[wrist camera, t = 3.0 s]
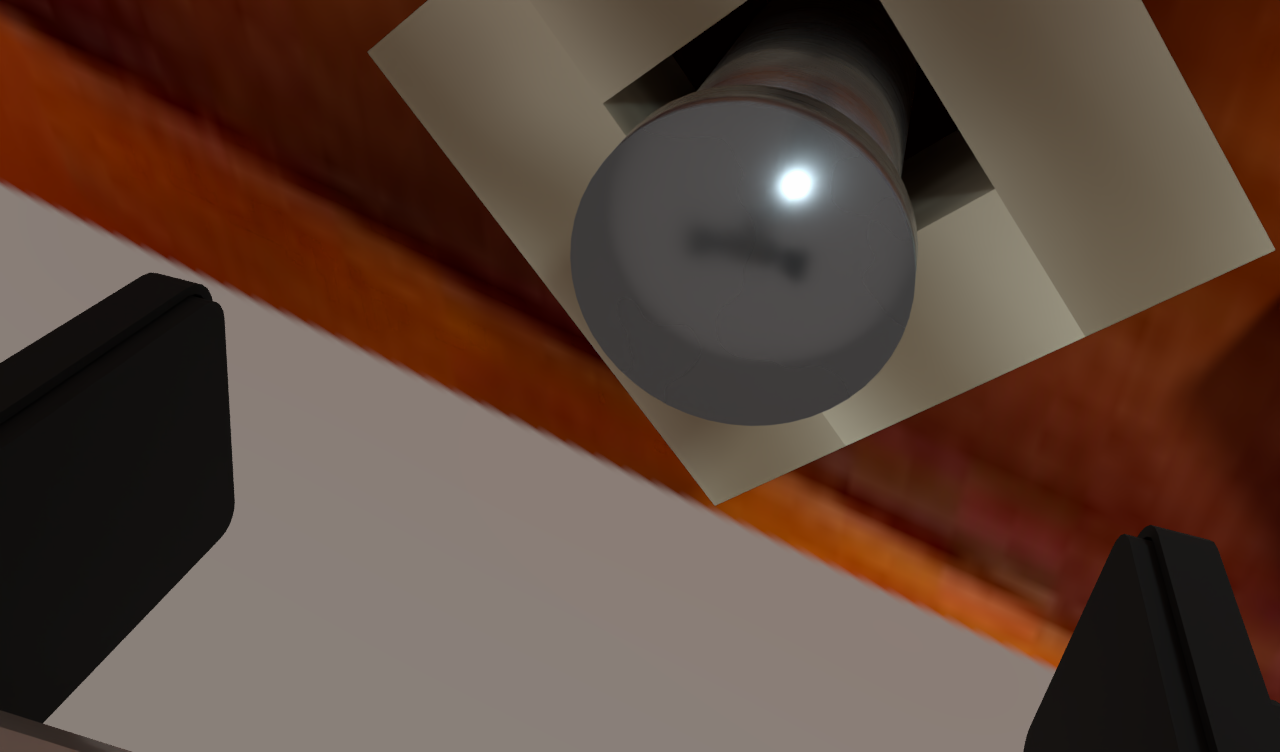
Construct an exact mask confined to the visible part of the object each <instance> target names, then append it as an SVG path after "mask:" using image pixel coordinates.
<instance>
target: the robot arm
mask: <svg viewBox="0 0 1280 752" xmlns="http://www.w3.org/2000/svg"><path fill="white" fill-rule="evenodd" d="M227 375H228V374H227V356H226V340H225V321H224V313H223V310H222V308H221V306H220V305H219V304H218V303H217V302H213V301H212V296H211V294H210V292H209V290H208V289H207V288H206V287H204V286H203V285H201V284H197V283H193V282H189V281H185V280H182V279H178V278H173V277H170V276H166V275H162V274H158V273H148V274H145V275H143V276H141V277H139V278H138V279H136V280H135V281H133V282H131V283H130V284H128V285H127V286H125V287H123V288H122V289H120V290H118V291H117V292H115V293H113V294H112V295H110V296H108V297H107V298H105V299H104V300H102V301H100V302H99V303H98V304H96V305H94V306H92V307H91V308H89V309H88V310H86V311H84V312H83V313H81V314H79V315H78V316H76V317H74V318H73V319H71V320H70V321H68V322H67V323H65V324H63V325H61V326H60V327H58V328H57V329H55V330H54V331H52V332H50V333H48V334H47V335H45V336H44V337H42V338H40V339H39V340H37V341H36V342H34V343H32V344H31V345H29V346H27V347H26V348H24V349H22V350H21V351H20V352H18V353H16V354H14V355H13V356H11V357H10V358H8V359H6V360H5V361H3V362H1V363H0V752H131V751H128V750H125V749H121V748H118V747H115V746H112V745H108V744H105V743H102V742H99V741H96V740H93V739H90V738H86V737H83V736H80V735H77V734H74V733H71V732H67V731H64V730H61V729H58V728H55V727H52V726H48V725H45V724H43V722H44V721H45V720H46V719H47V718H48V717H49V716H50V715H51V714H52V713H53V712H54V711H55V710H56V709H57V708H58V707H59V706H60V705H61V704H62V703H63V702H64V701H65V700H66V698H67V697H68V696H69V695H70V694H71V693H72V692H73V691H74V690H75V689H76V688H77V687H78V686H79V685H80V684H81V683H82V682H83V681H84V680H85V679H86V678H87V677H88V676H89V675H90V673H91V672H92V671H93V670H94V669H95V668H96V667H97V666H98V665H99V664H100V663H101V662H102V661H103V660H104V659H105V658H106V657H107V656H108V655H109V654H110V653H111V652H112V651H113V650H114V649H115V647H116V646H117V645H118V644H119V643H120V642H121V641H122V640H123V639H124V638H125V637H126V636H127V635H128V634H129V633H130V632H131V631H132V630H133V629H134V628H135V627H136V625H138V624H139V622H140V621H141V620H142V619H143V618H144V617H145V616H146V615H147V614H148V613H149V612H150V611H151V610H152V609H153V608H154V607H155V606H156V605H157V604H158V603H159V602H160V601H161V600H162V598H163V597H164V596H165V595H166V594H167V593H168V592H169V591H170V590H171V589H172V588H173V587H174V586H175V585H176V584H177V583H178V582H179V581H180V580H181V579H182V578H183V576H185V575H186V574H187V573H188V571H189V570H190V569H191V568H192V567H193V566H194V565H195V564H196V563H197V562H198V561H199V560H200V559H201V558H202V557H203V556H204V555H205V554H206V553H207V552H208V551H209V550H210V549H211V548H212V546H213V545H214V544H215V543H216V542H217V541H218V540H219V539H220V538H221V537H222V536H223V534H224V533H225V532H226V530H227V528H228V526H229V524H230V522H231V519H232V516H233V512H234V503H235V502H234V501H235V500H234V482H233V464H232V446H231V429H230V410H229V393H228V376H227ZM1024 752H1280V704H1279V703H1278V702H1276V701H1274V700H1270V698H1269V695H1268V692H1267V689H1266V686H1265V683H1264V680H1263V677H1262V675H1261V672H1260V669H1259V666H1258V663H1257V660H1256V657H1255V654H1254V652H1253V649H1252V646H1251V643H1250V640H1249V637H1248V634H1247V631H1246V629H1245V626H1244V623H1243V620H1242V617H1241V614H1240V611H1239V608H1238V606H1237V603H1236V600H1235V597H1234V594H1233V591H1232V588H1231V585H1230V583H1229V580H1228V577H1227V574H1226V571H1225V568H1224V565H1223V562H1222V560H1221V557H1220V554H1219V551H1218V548H1217V547H1216V545H1215V543H1214V542H1212V541H1210V540H1207V539H1204V538H1200V537H1196V536H1192V535H1188V534H1184V533H1180V532H1176V531H1172V530H1168V529H1164V528H1160V527H1156V526H1152V525H1149V526H1147V527H1145V528H1144V529H1143V530H1142V531H1141V532H1140V534H1139V535H1138V537H1134V536H1130V535H1126V534H1123V535H1121V536H1120V537H1119V538H1118V539H1117V541H1116V542H1115V544H1114V546H1113V548H1112V550H1111V552H1110V554H1109V557H1108V559H1107V561H1106V563H1105V565H1104V567H1103V570H1102V572H1101V574H1100V576H1099V578H1098V580H1097V583H1096V585H1095V587H1094V589H1093V591H1092V593H1091V596H1090V598H1089V600H1088V602H1087V604H1086V606H1085V609H1084V611H1083V613H1082V615H1081V617H1080V619H1079V622H1078V624H1077V626H1076V628H1075V630H1074V633H1073V635H1072V637H1071V639H1070V641H1069V643H1068V646H1067V648H1066V650H1065V652H1064V654H1063V656H1062V659H1061V661H1060V663H1059V665H1058V667H1057V669H1056V672H1055V674H1054V676H1053V678H1052V680H1051V683H1050V685H1049V687H1048V689H1047V691H1046V693H1045V696H1044V698H1043V700H1042V702H1041V704H1040V706H1039V708H1038V711H1037V713H1036V715H1035V717H1034V719H1033V722H1032V724H1031V726H1030V728H1029V731H1028V734H1027V737H1026V741H1025V746H1024Z"/></svg>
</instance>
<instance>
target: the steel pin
mask: <svg viewBox="0 0 1280 752" xmlns="http://www.w3.org/2000/svg"><path fill="white" fill-rule="evenodd" d="M915 83H916V59H915V57H914V55H913V54H912V52H911V50H910V49H909V47H908V45H907V44H906V42H905V41H904V39H903V37H902V36H901V34H900V32H899V31H898V29H897V27H896V26H895V24H894V22H893V21H892V19H891V18H890V16H889V14H888V13H887V11H886V9H885V8H884V6H883V4H882V3H881V1H880V0H772V1H771V2H769V3H768V4H767V5H766V6H764V7H763V9H762V10H761V11H760V12H759V13H758V14H757V15H756V16H755V17H754V19H753V20H752V21H751V22H750V24H749V25H748V26H747V27H746V29H745V30H744V31H743V33H742V34H741V35H740V36H739V38H738V39H737V40H736V42H735V43H734V44H733V45H732V47H731V48H730V49H729V50H728V52H727V53H726V54H725V56H724V57H723V58H722V59H721V61H720V62H719V63H718V65H717V66H716V67H715V68H714V70H713V71H712V72H711V73H710V75H709V76H708V77H707V79H706V80H705V81H704V82H703V84H702V85H701V86H700V87H699V89H698V90H697V91H696V92H693V93H690V94H688V95H685V96H683V97H681V98H678V99H676V100H673V101H671V102H669V103H668V104H666V105H664V106H663V107H661V108H659V109H657V110H656V111H654V112H653V113H651V114H650V115H649V116H648V117H646V118H645V119H644V120H642V121H641V122H640V123H639V124H637V125H636V126H635V127H634V128H633V129H632V131H631V132H630V133H629V134H628V135H627V136H626V137H625V138H624V139H623V140H622V141H621V142H620V143H619V145H618V146H617V147H616V148H615V149H614V150H613V151H612V153H611V154H610V155H609V156H608V157H607V158H606V160H605V161H604V162H603V163H602V164H601V166H600V167H599V169H598V170H597V172H596V173H595V174H594V176H593V177H592V179H591V180H590V182H589V184H588V186H587V188H586V190H585V192H584V194H583V196H582V198H581V201H580V204H579V207H578V210H577V213H576V216H575V219H574V225H573V230H572V235H571V250H570V262H571V273H572V281H573V285H574V289H575V294H576V298H577V301H578V304H579V306H580V309H581V312H582V315H583V317H584V319H585V321H586V323H587V325H588V327H589V329H590V331H591V333H592V335H593V336H594V338H595V339H596V341H597V342H598V344H599V345H600V347H601V348H602V350H603V351H604V353H605V354H606V355H607V356H608V357H609V359H610V360H611V361H612V362H613V363H614V364H615V365H616V367H617V368H618V369H619V370H620V371H621V372H622V373H624V374H625V375H626V376H627V377H628V378H629V379H630V380H631V381H632V382H633V383H635V384H636V385H637V386H639V387H640V388H641V389H643V390H644V391H646V392H647V393H648V394H650V395H651V396H653V397H655V398H656V399H658V400H660V401H662V402H663V403H665V404H667V405H669V406H671V407H673V408H675V409H678V410H680V411H682V412H685V413H687V414H690V415H693V416H696V417H699V418H702V419H706V420H710V421H715V422H720V423H725V424H732V425H743V426H766V425H776V424H783V423H790V422H794V421H798V420H801V419H805V418H809V417H812V416H814V415H817V414H819V413H822V412H824V411H827V410H829V409H831V408H833V407H835V406H836V405H838V404H840V403H842V402H844V401H845V400H847V399H849V398H850V397H851V396H853V395H854V394H855V393H857V392H858V391H859V390H861V389H862V388H863V387H865V386H866V385H867V384H868V383H869V382H870V381H871V380H872V379H873V378H874V377H875V376H876V375H877V374H878V373H879V372H880V370H881V369H882V368H883V366H884V365H885V364H886V363H887V361H888V360H889V359H890V357H891V356H892V354H893V352H894V351H895V349H896V347H897V345H898V344H899V342H900V340H901V338H902V336H903V333H904V331H905V328H906V325H907V323H908V320H909V317H910V312H911V308H912V304H913V299H914V291H915V280H916V270H917V257H918V237H917V225H916V220H915V216H914V211H913V207H912V203H911V201H910V198H909V195H908V193H907V190H906V187H905V185H904V183H903V181H902V179H901V175H902V169H903V162H904V155H905V149H906V142H907V136H908V129H909V123H910V116H911V109H912V103H913V96H914V90H915Z"/></svg>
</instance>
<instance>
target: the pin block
mask: <svg viewBox="0 0 1280 752" xmlns="http://www.w3.org/2000/svg"><path fill="white" fill-rule="evenodd" d="M746 1H747V0H428V1H426V2H425V3H424V4H423V5H422V6H421V7H419V8H418V9H417V10H416V11H415V12H414V13H412V14H411V15H410V16H409V17H408V18H407V19H405V20H404V21H403V22H402V23H401V24H400V25H398V26H397V27H396V28H395V29H394V30H393V31H391V32H390V33H389V34H388V35H387V36H385V37H384V38H383V39H382V40H381V41H380V42H378V43H377V44H376V45H375V46H374V47H373V48H371V49H370V50H369V51H368V54H369V55H370V56H371V58H372V59H373V60H374V62H375V63H376V64H377V65H378V67H379V68H380V69H381V71H382V72H383V73H384V75H385V76H386V77H387V79H388V80H389V81H390V82H391V84H392V85H393V86H394V88H395V89H396V90H397V92H398V93H399V94H400V96H401V97H402V98H403V99H404V101H405V102H406V103H407V105H408V106H409V107H410V109H411V110H412V111H413V112H414V114H415V115H416V116H417V118H418V119H419V120H420V122H421V123H422V124H423V126H424V127H425V128H426V129H427V131H428V132H429V133H430V135H431V136H432V137H433V139H434V140H435V141H436V142H437V144H438V145H439V146H440V148H441V149H442V150H443V152H444V153H445V154H446V156H447V157H448V158H449V159H450V161H451V162H452V163H453V165H454V166H455V167H456V169H457V170H458V171H459V173H460V174H461V175H462V176H463V178H464V179H465V180H466V182H467V183H468V184H469V186H470V187H471V188H472V189H473V191H474V192H475V193H476V195H477V196H478V197H479V199H480V200H481V201H482V203H483V204H484V205H485V206H486V208H487V209H488V210H489V212H490V213H491V214H492V216H493V217H494V218H495V220H496V221H497V222H498V223H499V225H500V226H501V227H502V229H503V230H504V231H505V233H506V234H507V235H508V236H509V238H510V239H511V240H512V242H513V243H514V244H515V246H516V247H517V248H518V250H519V251H520V252H521V253H522V255H523V256H524V257H525V259H526V260H527V261H528V263H529V264H530V265H531V266H532V268H533V269H534V270H535V272H536V273H537V274H538V276H539V277H540V278H541V280H542V281H543V282H544V283H545V285H546V286H547V287H548V289H549V290H550V291H551V293H552V294H553V295H554V297H555V298H556V299H557V300H558V302H559V303H560V304H561V306H562V307H563V308H564V310H565V311H566V312H567V313H568V315H569V316H570V317H571V319H572V320H573V321H574V323H575V324H576V325H577V327H578V328H579V329H580V330H581V332H582V333H583V334H584V336H585V337H586V338H587V340H588V341H589V342H590V344H591V345H592V346H593V347H594V349H595V350H596V351H597V353H598V354H599V355H600V357H601V358H602V359H603V360H604V362H605V363H606V364H607V366H608V367H609V368H610V370H611V371H612V372H613V374H614V375H615V376H616V377H617V379H618V380H619V381H620V383H621V384H622V385H623V387H624V388H625V389H626V391H627V392H628V393H629V394H630V396H631V397H632V398H633V400H634V401H635V402H636V404H637V405H638V406H639V407H640V409H641V410H642V411H643V413H644V414H645V415H646V417H647V418H648V419H649V421H650V422H651V423H652V424H653V426H654V427H655V428H656V430H657V431H658V432H659V434H660V435H661V436H662V437H663V439H664V440H665V441H666V443H667V444H668V445H669V447H670V448H671V449H672V451H673V452H674V453H675V454H676V456H677V457H678V458H679V460H680V461H681V462H682V464H683V465H684V466H685V468H686V469H687V470H688V471H689V473H690V474H691V475H692V477H693V478H694V479H695V481H696V482H697V483H698V484H699V486H700V487H701V488H702V490H703V491H704V492H705V494H706V495H707V496H708V498H709V499H710V500H711V501H712V503H713V504H714V505H718V504H720V503H722V502H724V501H726V500H729V499H731V498H733V497H735V496H737V495H739V494H742V493H744V492H746V491H748V490H750V489H753V488H755V487H757V486H759V485H761V484H764V483H766V482H768V481H770V480H772V479H775V478H777V477H779V476H781V475H783V474H786V473H788V472H790V471H792V470H794V469H796V468H799V467H801V466H803V465H805V464H807V463H810V462H812V461H814V460H816V459H818V458H821V457H823V456H825V455H827V454H829V453H832V452H834V451H836V450H838V449H840V448H843V447H845V446H847V445H849V444H851V443H853V442H856V441H858V440H860V439H862V438H864V437H867V436H869V435H871V434H873V433H875V432H878V431H880V430H882V429H884V428H886V427H889V426H891V425H893V424H895V423H897V422H900V421H902V420H904V419H906V418H908V417H910V416H913V415H915V414H917V413H919V412H921V411H924V410H926V409H928V408H930V407H932V406H935V405H937V404H939V403H941V402H943V401H946V400H948V399H950V398H952V397H954V396H957V395H959V394H961V393H963V392H965V391H967V390H970V389H972V388H974V387H976V386H978V385H981V384H983V383H985V382H987V381H989V380H992V379H994V378H996V377H998V376H1000V375H1003V374H1005V373H1007V372H1009V371H1011V370H1014V369H1016V368H1018V367H1020V366H1022V365H1025V364H1027V363H1029V362H1031V361H1033V360H1035V359H1038V358H1040V357H1042V356H1044V355H1046V354H1049V353H1051V352H1053V351H1055V350H1057V349H1060V348H1062V347H1064V346H1066V345H1068V344H1071V343H1073V342H1075V341H1077V340H1079V339H1082V338H1084V337H1086V336H1088V335H1090V334H1092V333H1095V332H1097V331H1099V330H1101V329H1103V328H1106V327H1108V326H1110V325H1112V324H1114V323H1117V322H1119V321H1121V320H1123V319H1125V318H1128V317H1130V316H1132V315H1134V314H1136V313H1139V312H1141V311H1143V310H1145V309H1147V308H1149V307H1152V306H1154V305H1156V304H1158V303H1160V302H1163V301H1165V300H1167V299H1169V298H1171V297H1174V296H1176V295H1178V294H1180V293H1182V292H1185V291H1187V290H1189V289H1191V288H1193V287H1196V286H1198V285H1200V284H1202V283H1204V282H1206V281H1209V280H1211V279H1213V278H1215V277H1217V276H1220V275H1222V274H1224V273H1226V272H1228V271H1231V270H1233V269H1235V268H1237V267H1239V266H1242V265H1244V264H1246V263H1248V262H1250V261H1253V260H1255V259H1257V258H1259V257H1261V256H1263V255H1266V254H1268V253H1270V252H1272V251H1274V250H1275V248H1274V247H1273V245H1272V243H1271V241H1270V239H1269V237H1268V235H1267V233H1266V232H1265V230H1264V228H1263V226H1262V224H1261V222H1260V220H1259V219H1258V217H1257V215H1256V213H1255V211H1254V209H1253V207H1252V205H1251V204H1250V202H1249V200H1248V198H1247V196H1246V194H1245V192H1244V191H1243V189H1242V187H1241V185H1240V183H1239V181H1238V179H1237V178H1236V176H1235V174H1234V172H1233V170H1232V168H1231V166H1230V164H1229V163H1228V161H1227V159H1226V157H1225V155H1224V153H1223V151H1222V150H1221V148H1220V146H1219V144H1218V142H1217V140H1216V138H1215V137H1214V135H1213V133H1212V131H1211V129H1210V127H1209V125H1208V123H1207V122H1206V120H1205V118H1204V116H1203V114H1202V112H1201V110H1200V109H1199V107H1198V105H1197V103H1196V101H1195V99H1194V97H1193V96H1192V94H1191V92H1190V90H1189V88H1188V86H1187V84H1186V82H1185V81H1184V79H1183V77H1182V75H1181V73H1180V71H1179V69H1178V68H1177V66H1176V64H1175V62H1174V60H1173V58H1172V56H1171V55H1170V53H1169V51H1168V49H1167V47H1166V45H1165V43H1164V41H1163V40H1162V38H1161V36H1160V34H1159V32H1158V30H1157V28H1156V27H1155V25H1154V23H1153V21H1152V19H1151V17H1150V15H1149V13H1148V12H1147V10H1146V8H1145V6H1144V4H1143V2H1142V0H880V1H881V3H882V4H883V6H884V8H885V9H886V11H887V13H888V14H889V16H890V18H891V19H892V21H893V22H894V24H895V26H896V27H897V29H898V31H899V32H900V34H901V36H902V37H903V39H904V41H905V42H906V44H907V45H908V47H909V49H910V50H911V52H912V54H913V55H914V57H915V59H916V60H917V62H918V63H919V65H920V67H921V68H922V70H923V72H924V73H925V75H926V77H927V78H928V80H929V81H930V83H931V85H932V86H933V88H934V90H935V91H936V93H937V95H938V96H939V98H940V100H941V101H942V103H943V104H944V106H945V108H946V109H947V111H948V113H949V114H950V116H951V118H952V119H953V121H954V122H955V124H956V126H957V127H958V130H957V131H955V132H953V133H951V134H950V135H948V136H946V137H945V138H943V139H941V140H939V141H938V142H936V143H934V144H932V145H931V146H929V147H927V148H926V149H924V150H922V151H920V152H919V153H917V154H915V155H914V156H912V157H910V158H908V159H907V160H905V161H904V162H903V169H902V175H901V179H902V181H903V183H904V185H905V187H906V190H907V193H908V195H909V198H910V201H911V203H912V207H913V211H914V216H915V220H916V225H917V237H918V257H917V270H916V280H915V291H914V299H913V304H912V308H911V312H910V317H909V320H908V323H907V325H906V328H905V331H904V333H903V336H902V338H901V340H900V342H899V344H898V345H897V347H896V349H895V351H894V352H893V354H892V356H891V357H890V359H889V360H888V361H887V363H886V364H885V365H884V366H883V368H882V369H881V370H880V372H879V373H878V374H877V375H876V376H875V377H874V378H873V379H872V380H871V381H870V382H869V383H868V384H867V385H866V386H865V387H863V388H862V389H861V390H859V391H858V392H857V393H855V394H854V395H853V396H851V397H850V398H849V399H847V400H845V401H844V402H842V403H840V404H838V405H836V406H835V407H833V408H831V409H829V410H827V411H824V412H822V413H819V414H817V415H814V416H812V417H809V418H805V419H801V420H798V421H794V422H790V423H783V424H776V425H766V426H743V425H732V424H725V423H720V422H715V421H710V420H706V419H702V418H699V417H696V416H693V415H690V414H687V413H685V412H682V411H680V410H678V409H675V408H673V407H671V406H669V405H667V404H665V403H663V402H662V401H660V400H658V399H656V398H655V397H653V396H651V395H650V394H648V393H647V392H646V391H644V390H643V389H641V388H640V387H639V386H637V385H636V384H635V383H633V382H632V381H631V380H630V379H629V378H628V377H627V376H626V375H625V374H624V373H622V372H621V371H620V370H619V369H618V368H617V367H616V365H615V364H614V363H613V362H612V361H611V360H610V359H609V357H608V356H607V355H606V354H605V353H604V351H603V350H602V348H601V347H600V345H599V344H598V342H597V341H596V339H595V338H594V336H593V335H592V333H591V331H590V329H589V327H588V325H587V323H586V321H585V319H584V317H583V315H582V312H581V309H580V306H579V304H578V301H577V298H576V294H575V289H574V285H573V281H572V273H571V262H570V250H571V235H572V230H573V225H574V219H575V216H576V213H577V210H578V207H579V204H580V201H581V198H582V196H583V194H584V192H585V190H586V188H587V186H588V184H589V182H590V180H591V179H592V177H593V176H594V174H595V173H596V172H597V170H598V169H599V167H600V166H601V164H602V163H603V162H604V161H605V160H606V158H607V157H608V156H609V155H610V154H611V153H612V151H613V150H614V149H615V148H616V147H617V146H618V145H619V143H620V142H621V141H622V140H623V139H624V138H625V137H626V136H627V135H628V134H629V133H630V132H631V131H632V129H633V128H634V127H635V126H636V125H637V124H639V123H640V122H641V121H642V120H644V119H645V118H646V117H648V116H649V115H650V114H651V113H653V112H654V111H656V110H657V109H659V108H661V107H663V106H664V105H666V104H668V103H669V102H671V101H673V100H676V99H678V98H681V97H683V96H685V95H688V94H690V93H693V92H696V90H695V88H694V87H693V85H692V84H691V82H690V81H689V79H688V78H687V76H686V75H685V74H684V72H683V71H682V69H681V68H680V66H679V65H678V63H677V62H676V60H675V59H674V57H673V56H672V54H673V53H674V52H676V51H677V50H678V49H680V48H681V47H683V46H684V45H685V44H687V43H688V42H690V41H691V40H692V39H694V38H695V37H697V36H698V35H699V34H701V33H702V32H704V31H705V30H706V29H708V28H709V27H711V26H712V25H714V24H715V23H716V22H718V21H719V20H721V19H722V18H723V17H725V16H726V15H728V14H729V13H730V12H732V11H733V10H735V9H736V8H737V7H739V6H740V5H742V4H743V3H744V2H746Z"/></svg>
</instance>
